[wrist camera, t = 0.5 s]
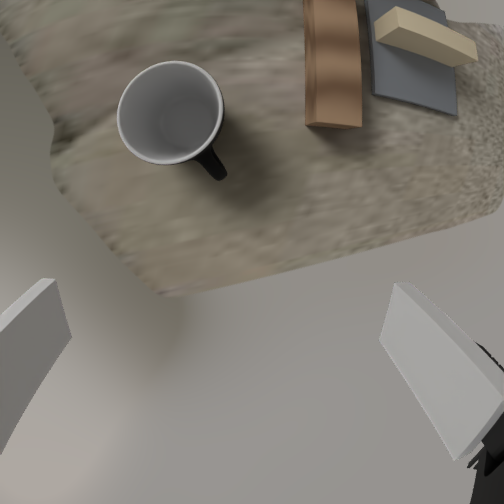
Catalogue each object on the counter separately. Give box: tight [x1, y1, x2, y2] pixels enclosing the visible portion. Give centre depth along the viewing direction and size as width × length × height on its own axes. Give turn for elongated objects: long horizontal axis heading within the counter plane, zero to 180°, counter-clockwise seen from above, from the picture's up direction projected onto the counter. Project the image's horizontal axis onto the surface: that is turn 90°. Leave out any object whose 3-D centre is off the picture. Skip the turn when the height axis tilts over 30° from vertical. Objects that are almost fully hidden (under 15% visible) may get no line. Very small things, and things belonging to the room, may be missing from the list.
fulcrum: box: [364, 0, 478, 116], centre depth 24 cm, size 18×14×7 cm
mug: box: [117, 61, 227, 181], centre depth 26 cm, size 12×9×10 cm
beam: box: [303, 0, 362, 129], centre depth 25 cm, size 20×5×5 cm, turn 179°
